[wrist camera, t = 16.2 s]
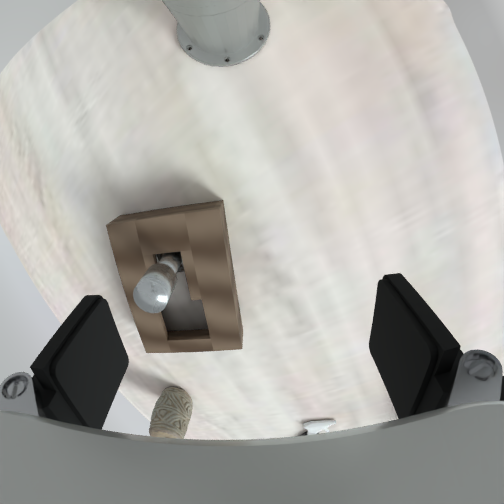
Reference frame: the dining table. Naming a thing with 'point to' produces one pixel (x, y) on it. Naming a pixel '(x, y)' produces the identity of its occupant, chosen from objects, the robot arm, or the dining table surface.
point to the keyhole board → (196, 270)
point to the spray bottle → (317, 426)
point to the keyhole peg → (158, 283)
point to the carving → (171, 414)
